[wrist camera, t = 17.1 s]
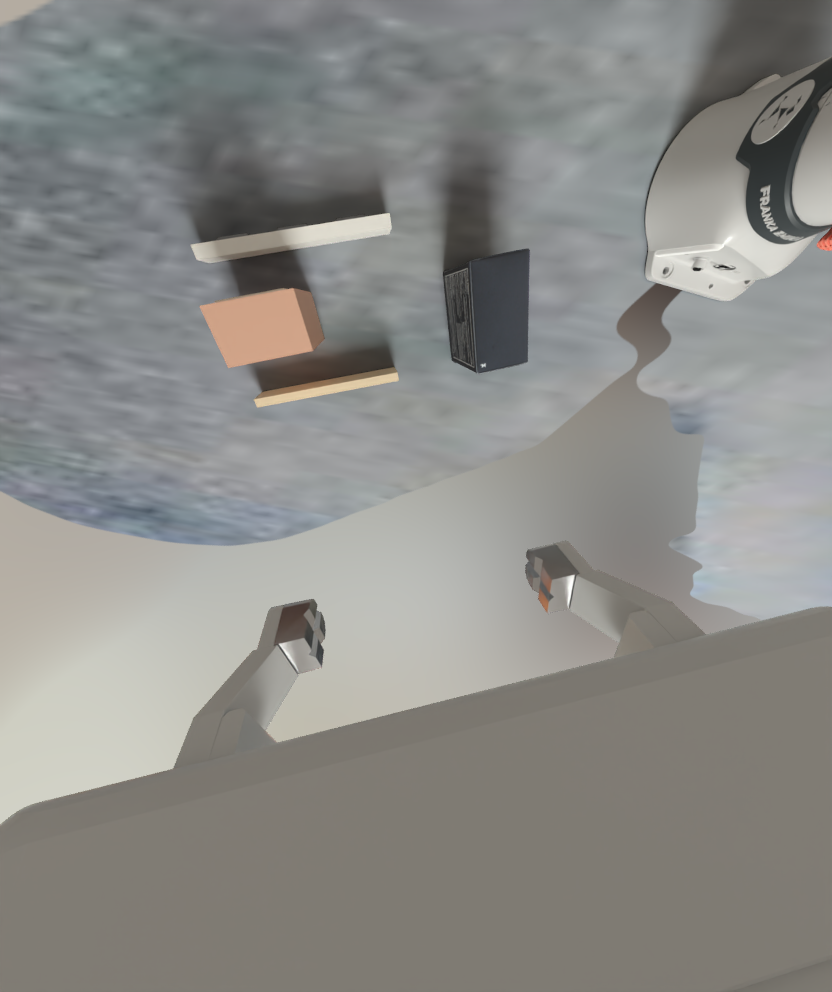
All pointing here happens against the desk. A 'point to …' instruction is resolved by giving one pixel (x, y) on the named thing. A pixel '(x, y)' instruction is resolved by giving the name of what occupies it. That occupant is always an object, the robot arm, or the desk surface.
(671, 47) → the desk surface
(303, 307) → the carton
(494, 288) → the small box
